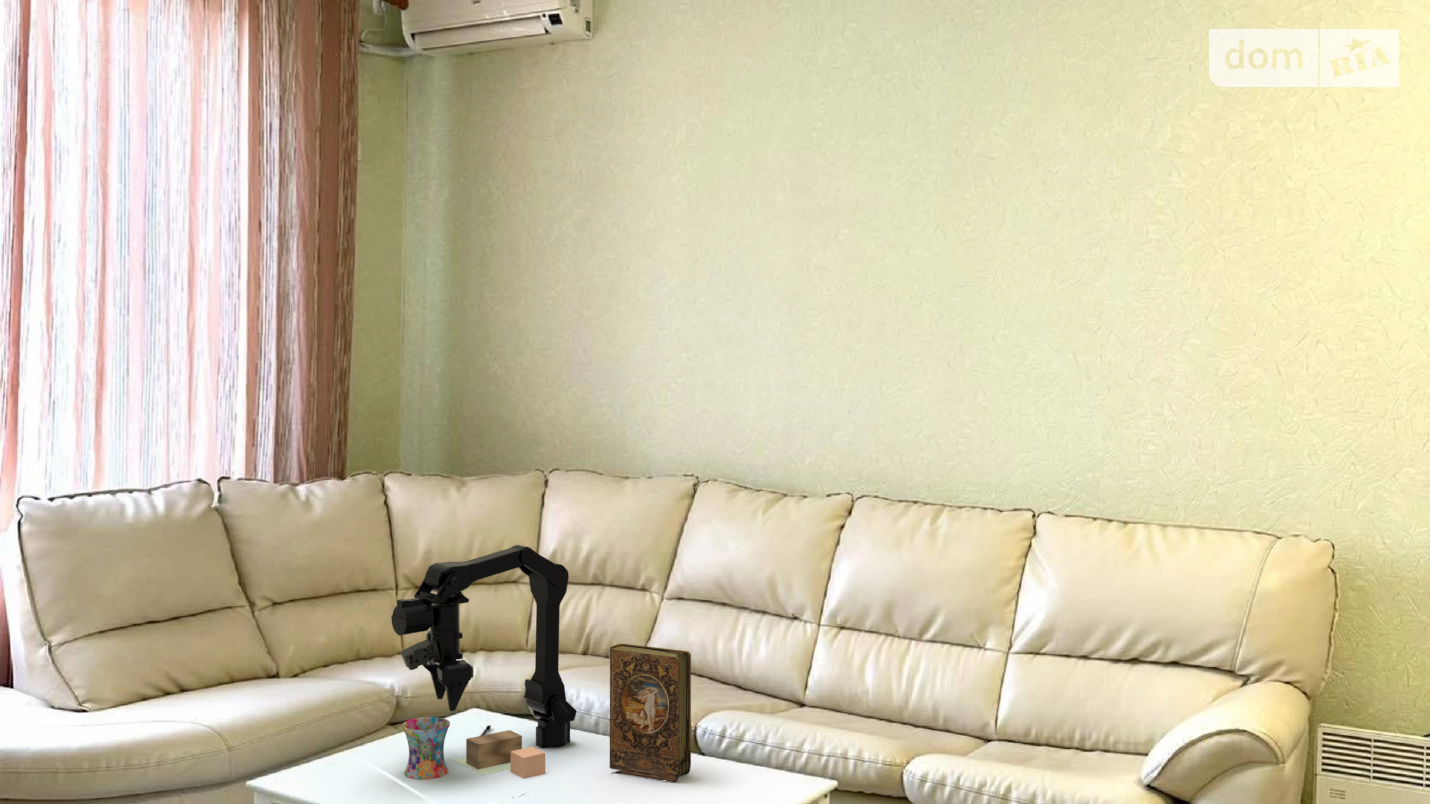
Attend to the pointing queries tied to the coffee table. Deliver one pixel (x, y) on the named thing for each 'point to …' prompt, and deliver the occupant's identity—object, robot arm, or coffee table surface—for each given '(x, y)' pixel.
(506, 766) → the baseplate
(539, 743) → the robot arm
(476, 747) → the walnut brick
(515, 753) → the cube
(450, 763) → the coffee table surface
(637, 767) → the book
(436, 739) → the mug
